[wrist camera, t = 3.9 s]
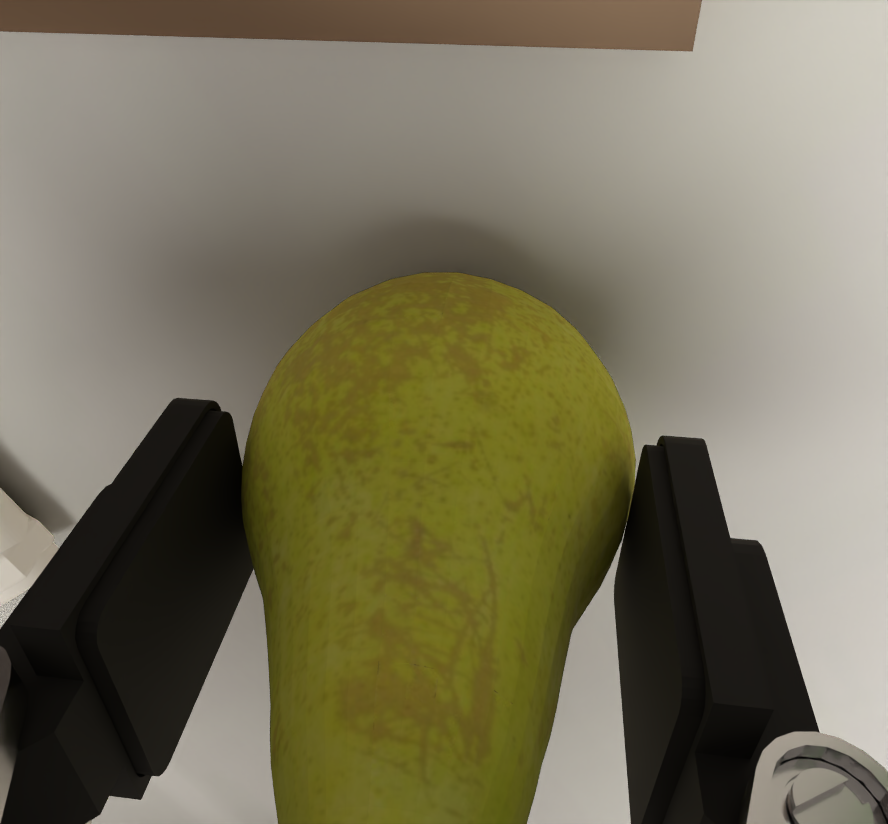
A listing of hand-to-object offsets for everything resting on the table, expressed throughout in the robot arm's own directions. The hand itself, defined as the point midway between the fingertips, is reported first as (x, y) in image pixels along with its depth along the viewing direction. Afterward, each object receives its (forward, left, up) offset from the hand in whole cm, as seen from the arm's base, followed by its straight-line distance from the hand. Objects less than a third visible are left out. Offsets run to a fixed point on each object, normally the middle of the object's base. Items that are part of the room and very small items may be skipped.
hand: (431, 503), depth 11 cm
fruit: (0, 0, -4) cm, 4 cm away
